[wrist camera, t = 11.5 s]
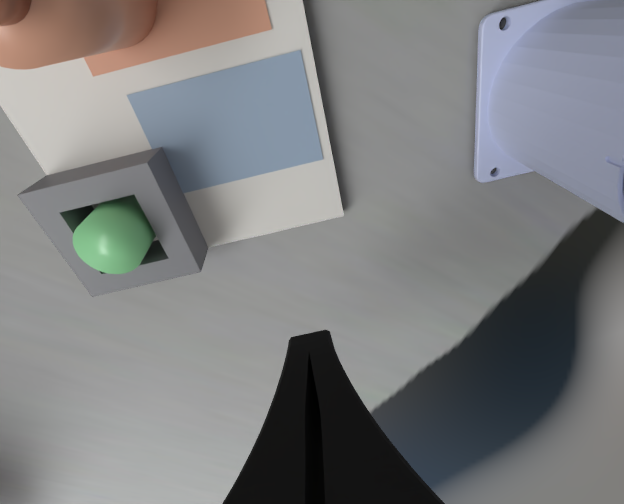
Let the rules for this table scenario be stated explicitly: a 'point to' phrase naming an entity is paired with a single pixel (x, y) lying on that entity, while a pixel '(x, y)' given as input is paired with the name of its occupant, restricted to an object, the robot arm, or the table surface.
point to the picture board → (181, 134)
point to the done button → (114, 236)
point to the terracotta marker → (69, 29)
